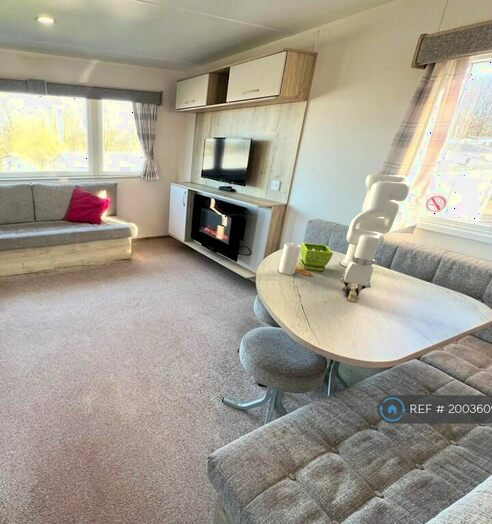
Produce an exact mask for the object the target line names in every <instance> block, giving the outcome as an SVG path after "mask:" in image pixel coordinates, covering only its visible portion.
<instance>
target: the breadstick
mask: <svg viewBox="0 0 492 524" xmlns="http://www.w3.org/2000/svg"><path fill="white" fill-rule="evenodd" d="M295 272H296V273H297V272H298V273H300V274H302V275H304V276H308V277H311V276H312V275H313V271H310V270H308V269H304V268H302V267H299V266H297V265H296V269H295Z"/></svg>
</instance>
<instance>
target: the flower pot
mask: <svg viewBox="0 0 492 524" xmlns="http://www.w3.org/2000/svg"><path fill="white" fill-rule="evenodd" d="M300 253H301V255H300V256H301V258H299V261H300V263H301V266H302V267H303V268H302V269H305V270H308V271H310V270H311V271H318V272H325V271H326V270H327V268H326V266H327V265H328V263H329V262H330V260H331V259H332V258H333V257H332V256H333V251H332V250H331V248H330V247H329V246H328V245H326V244H318V243H309V242H301V249H300Z"/></svg>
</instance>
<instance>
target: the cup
mask: <svg viewBox="0 0 492 524" xmlns="http://www.w3.org/2000/svg"><path fill="white" fill-rule="evenodd" d="M301 247H302V245H300V244H298V243H294V242H285V243H284V246H283V251H282V254H281V258H280V264H279V267H278V271H279V273H281V274H284V275H290V276H292V275H295V274H296V273H295V272H296V271H295V269H296V266H297V265H298V261H299V257H300V253H301Z"/></svg>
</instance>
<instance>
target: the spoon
mask: <svg viewBox="0 0 492 524" xmlns="http://www.w3.org/2000/svg"><path fill="white" fill-rule="evenodd" d="M357 287H358V286H355V284H351V286H350V289H351V290H350V293H349V296H347V299H348V301H349V302H352V303H355V302H356V300H357V297H358V296H357V294H356V290H355V289H356V288H357ZM346 288H347V287H346V286H345V285H344V287H343V290H344V291H345V292H346Z"/></svg>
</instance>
